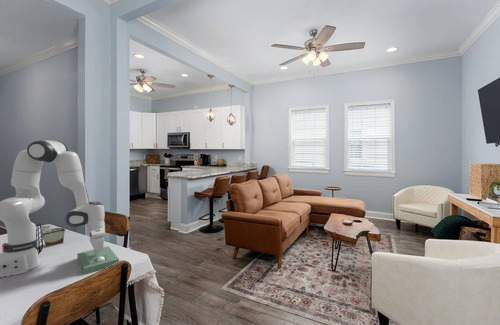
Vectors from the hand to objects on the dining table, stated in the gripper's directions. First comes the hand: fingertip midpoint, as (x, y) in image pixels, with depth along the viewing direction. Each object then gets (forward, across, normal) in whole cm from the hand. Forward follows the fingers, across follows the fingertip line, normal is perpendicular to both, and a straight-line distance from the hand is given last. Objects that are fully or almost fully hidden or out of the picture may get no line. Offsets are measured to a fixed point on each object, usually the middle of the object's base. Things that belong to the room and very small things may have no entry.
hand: (96, 253), depth 136 cm
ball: (+2, +7, +1) cm, 7 cm away
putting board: (+4, +2, 0) cm, 4 cm away
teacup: (+4, -67, -24) cm, 71 cm away
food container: (+4, -47, -18) cm, 50 cm away
